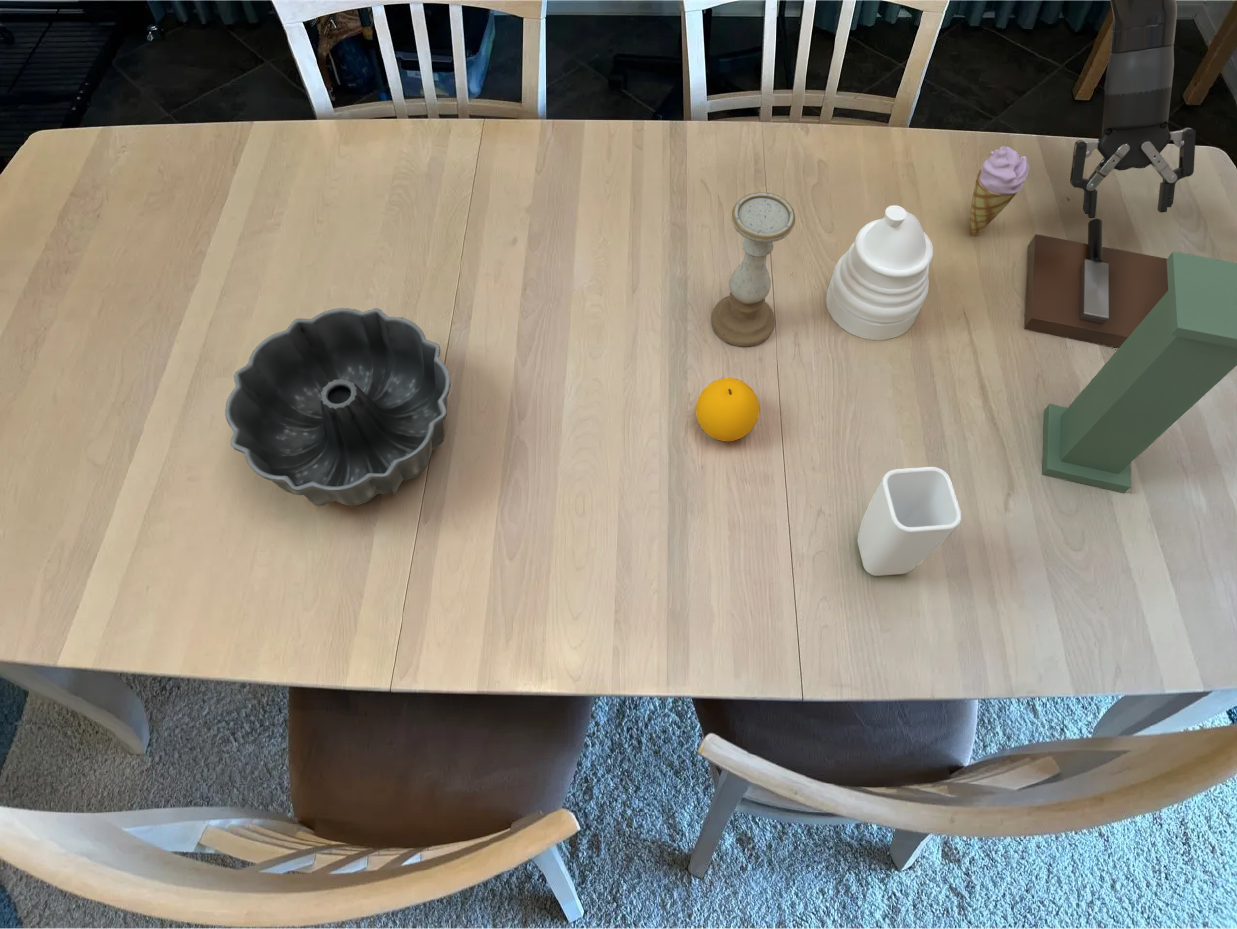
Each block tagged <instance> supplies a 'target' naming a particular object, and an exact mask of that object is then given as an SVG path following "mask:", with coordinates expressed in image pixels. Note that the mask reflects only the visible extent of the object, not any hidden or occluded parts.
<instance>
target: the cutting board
mask: <svg viewBox="0 0 1237 929" xmlns="http://www.w3.org/2000/svg"><path fill="white" fill-rule="evenodd" d="M1085 259H1087V260H1088V243H1085V242H1080V241H1075V240H1070V239H1063V238H1060V237H1053V236H1048V235H1043V234H1038V233H1035V234H1034V235H1033V237H1032V239H1031V241H1030V242H1029V243H1028V246H1027V262H1026V263H1027V264H1026V284H1025V302H1024V303H1025V306H1024V326H1023V328H1024V330H1027V331H1032V332H1036V333H1042V334H1047V335H1052V336H1057V337H1063V338H1067V339H1071V340H1076V341H1080V342H1081V341H1082V342H1086V343H1091V344H1096V345H1101V346H1106V347H1112V348H1115V349H1119V347H1120V346H1121V345H1122V344H1123V343H1124V342H1125V340H1126V339H1127V338H1128V337H1129V336H1130V335H1131V333H1132V332H1133V331H1134V330H1135V329H1136V327H1137V326H1138V325H1139V324H1140V323H1141V322H1142V320H1143V319H1144V318H1145V317H1146V316H1147V315H1148V313H1149V312H1150V311H1151V310H1152V309H1153V308H1154V306H1155V305H1156V304H1157V303H1158V302H1159V301H1160V299H1161V298H1162V297H1163V296H1164V295H1165V294H1166V292H1167V291H1168V275H1167V258H1166V257H1160V256H1155V255H1151V254H1146V253H1145V254H1144V253H1139V252H1134V251H1129V250H1123V249H1118V248H1112V247H1108V246H1102V262H1103V263H1108V284H1109V318H1108V319H1107V321H1106V322H1105V323H1104V324H1100V323H1095V322H1091V321H1086V320H1081V319H1080V266H1081V264H1082V263H1083V261H1084V260H1085Z"/></svg>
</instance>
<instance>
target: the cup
mask: <svg viewBox="0 0 1237 929" xmlns="http://www.w3.org/2000/svg"><path fill="white" fill-rule="evenodd" d="M956 494H957V493H956V491H955V488H954V485H953V482H952V479H951V477H950V476H949V474H948V472H946V471H945V470H943V469H942V468H940V467H937V466H922V467H921V466H920V467H908V468H895V469H891V470H889V471H887V472H886V473H885V474H884V475H883V477H882V479H881V481H880V482H879V484H878V485H877V487H876V490H875V491H874V493H873V495H872V497H871V499H870V501H869V504H868V506H867V507H866V511H865V512H864V514H863V517H862V520H861V524H860V526H859V529H858V534H857V539H856V540H857V546H858V549H859V554H860V558H861V563H862V566H863V568H864V570H865V571H866V573H867V574H869V575H871V576H876V577H880V576H881V577H882V576H892V575H893V576H894V575H904V574H908V573H909V572H911V571H912V570H914V569H915V568H917V567H918V566H920V565H921V564H922V563H923V562H924V561H925V560H927V559H928V558H930V556H931V555H933V553H934V552H935V551H937V550H938V548H940V547H941V546H942V544H943V543H945V541H946V540H947V539H948V538H949V537H950V536H951V535H952V533H953V532H955V530H956V529H957V527H958V526H959V525H960V523H961V521H962V511H961V507H960V505H959V501H958V497H957V495H956Z"/></svg>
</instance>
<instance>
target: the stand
mask: <svg viewBox="0 0 1237 929" xmlns="http://www.w3.org/2000/svg"><path fill="white" fill-rule="evenodd" d="M1166 259H1167V275H1168V291H1167V292H1166V294H1165V295H1164V296H1163V297H1162V298H1161V299H1160V301H1159V302H1158V303H1157V304H1156V305H1155V306H1154V308H1153V309H1152V310H1151V311H1150V312H1149V313H1148V315H1147V316H1146V317H1145V318H1144V319H1143V320H1142V322H1141V323H1140V324H1139V325H1138V326H1137V327H1136V329H1135V330H1134V331H1133V332H1132V333H1131V335H1130V336H1129V337H1128V338H1127V339H1126V340H1125V342H1124V343H1123V344H1122V345H1121V346H1120V347H1119V348H1117V350H1115V352H1114V353H1113V354H1112V356H1111V357H1110V358H1109V359H1108V360H1107V361H1106V362H1105V364H1104V365H1103V366H1102V367H1101V368H1100V369H1099V371H1098V372H1097V373H1096V374H1095V376H1094V377H1093V378H1092V379H1091V380H1090V381H1089V382H1088V384H1087V385H1086V386H1085V387H1084V388H1083V390H1082V391H1081V392H1079V394H1078V395H1077V397H1075V399H1074V400H1073V401H1072V402H1071V403H1070V404H1069V405H1068V406H1067V407H1066V406H1062V405H1057V404H1052V403H1049V404H1047V406H1046V407H1045V409H1044V410H1043V431H1042V433H1043V437H1042V439H1043V440H1042V441H1043V442H1042V463H1041V464H1042V465H1041V466H1042V467H1041V475H1042V476H1047V477H1050V478H1056V479H1060V480H1065V481H1069V482H1073V483H1077V484H1081V485H1082V484H1083V485H1086V486H1092V487H1096V488H1100V489H1104V490H1109V491H1112V492H1113V491H1114V492H1117V493H1123V494H1125V493H1127V492H1128V491H1129V490H1130V489H1132V462H1134V461H1135V460H1136V459H1137V458H1138V457H1139V456H1140V455H1141V454H1142V453H1143V452H1144V451H1146V450H1147V449H1148V448H1149V447H1150V446H1151V445H1152V444H1153V443H1154V442H1156V440H1157V439H1158V438H1160V437H1161V436H1162V435H1164V433H1165V432H1166V431H1168V430H1169V428H1170V427H1171V426H1172V425H1174V424H1175V423H1176V422H1177V421H1178V420H1180V419H1181V417H1182V416H1184V414H1186V413H1187V412H1188V411H1189V410H1190V409H1191V408H1192V407H1194V406H1195V405H1196V404H1197V403H1198V402H1199V401H1200V400H1201V399H1202V398H1203V397H1204V396H1206V394H1208V392H1210V391H1211V390H1212V389H1213V388H1214V387H1215V386H1217V384H1218V383H1219V382H1221V381H1222V380H1223V379H1224V378H1225V377H1227V375H1228V374H1229V373H1230V372H1231V371H1233V369H1235V368H1236V367H1237V262H1233V261H1227V260H1222V259H1217V258H1210V257H1207V256H1206V257H1205V256H1200V255H1195V254H1190V253H1185V252H1179V251H1172V252H1171V253H1170V254H1169V256H1168V257H1167V258H1166Z"/></svg>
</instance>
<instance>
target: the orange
mask: <svg viewBox="0 0 1237 929" xmlns="http://www.w3.org/2000/svg"><path fill="white" fill-rule="evenodd" d="M760 409H761V408H760V403H759V399H758V396H757V394H756V393H755V391H754V390H753V388H752V387H751V386H750V385H749V384H747V383H746V382H745V381H743V380H740V379H738V378H734V377H724V378H719V379H717V380H714V381H712V382H711V383H709V384H708V385H707V386H705V387H704V388H703V389H702V391H701V393H700V394H699V396H698V397H697V401H696V405H695V414H696V419H697V422H698V424H699V426H700V428H701V429H702V431H703V432H704V433H706V435H708V436H709V437H711V438H712V439H715V440H716V441H717V440H718V441H721V442H734V441H737V440H739V439H743V438H744V437H745V436H747V435H748V434H749V433H750V432H751V431H752V430H753V429H754V427H755V426H756V424H757V423H758V420H759V416H760V415H759V414H760V411H761V410H760Z"/></svg>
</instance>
